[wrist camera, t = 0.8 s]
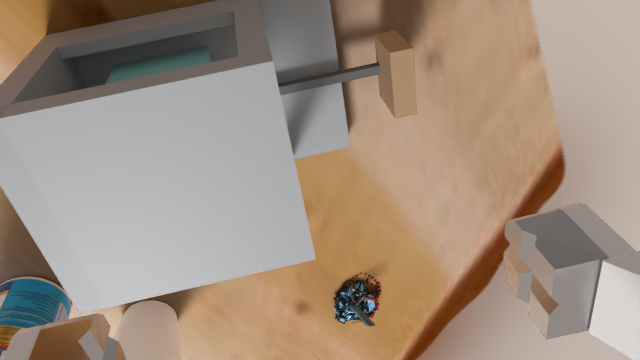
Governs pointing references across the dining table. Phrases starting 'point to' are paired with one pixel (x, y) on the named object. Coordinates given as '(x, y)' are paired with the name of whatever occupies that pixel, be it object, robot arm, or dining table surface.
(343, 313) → the blue bumpy stemmed lump
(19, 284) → the beverage bottle
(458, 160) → the dining table surface
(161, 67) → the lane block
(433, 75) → the dining table surface
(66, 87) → the shelf lane
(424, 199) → the dining table surface
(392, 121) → the dining table surface
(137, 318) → the foam cup
